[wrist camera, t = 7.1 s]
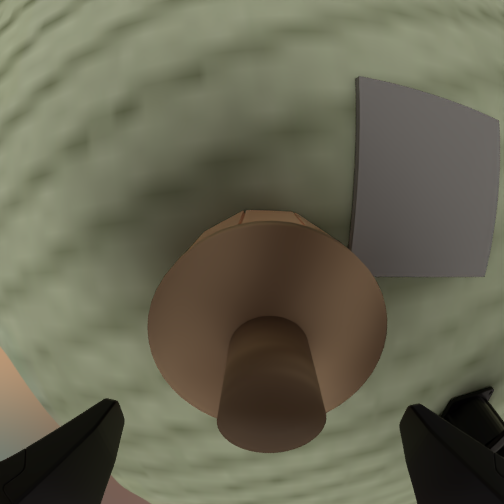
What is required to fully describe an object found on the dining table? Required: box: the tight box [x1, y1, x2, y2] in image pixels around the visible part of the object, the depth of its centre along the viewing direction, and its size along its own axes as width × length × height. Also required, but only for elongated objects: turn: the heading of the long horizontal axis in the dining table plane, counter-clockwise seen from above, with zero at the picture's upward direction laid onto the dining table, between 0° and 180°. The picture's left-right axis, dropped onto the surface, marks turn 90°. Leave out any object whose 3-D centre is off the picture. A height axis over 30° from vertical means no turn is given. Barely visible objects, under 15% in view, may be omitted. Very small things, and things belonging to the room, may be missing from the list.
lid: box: [148, 221, 387, 453], centre depth 10 cm, size 10×10×5 cm
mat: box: [348, 76, 500, 277], centre depth 14 cm, size 11×11×1 cm
